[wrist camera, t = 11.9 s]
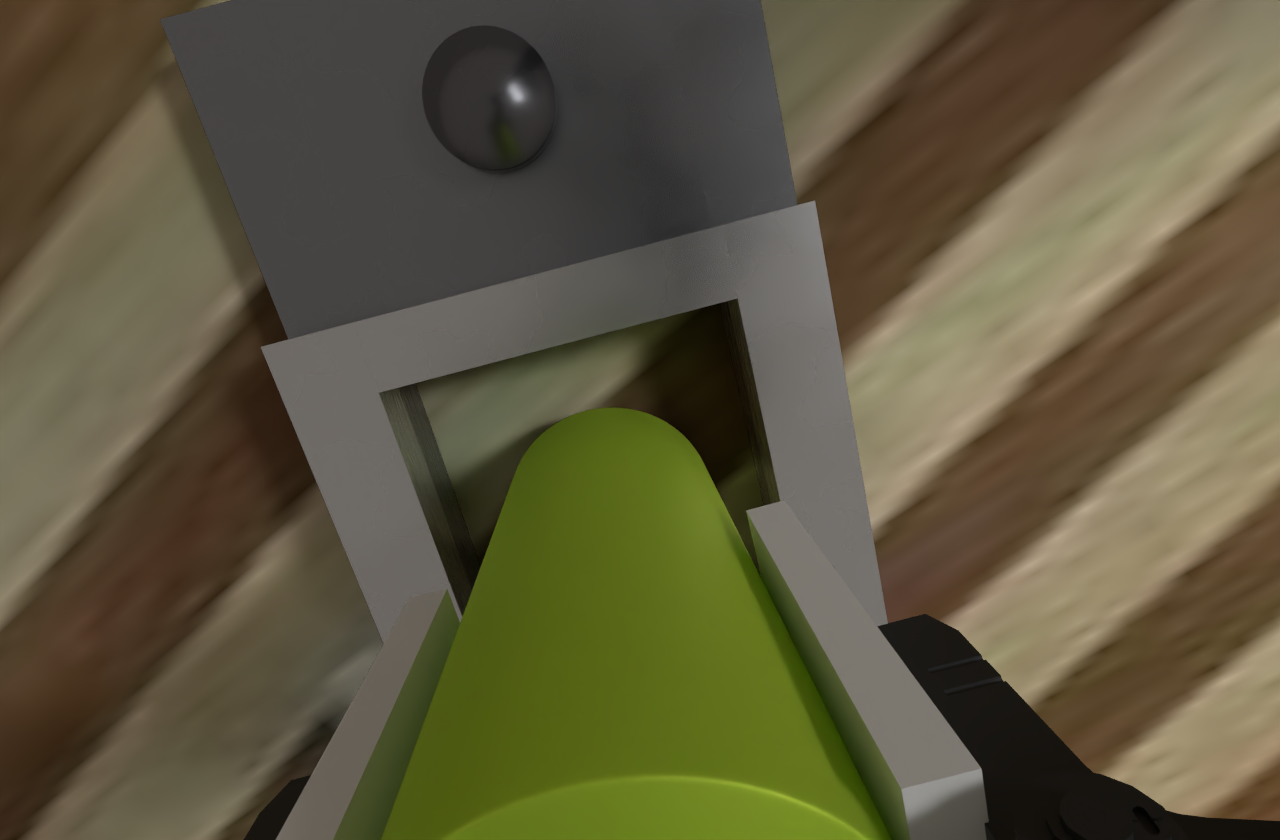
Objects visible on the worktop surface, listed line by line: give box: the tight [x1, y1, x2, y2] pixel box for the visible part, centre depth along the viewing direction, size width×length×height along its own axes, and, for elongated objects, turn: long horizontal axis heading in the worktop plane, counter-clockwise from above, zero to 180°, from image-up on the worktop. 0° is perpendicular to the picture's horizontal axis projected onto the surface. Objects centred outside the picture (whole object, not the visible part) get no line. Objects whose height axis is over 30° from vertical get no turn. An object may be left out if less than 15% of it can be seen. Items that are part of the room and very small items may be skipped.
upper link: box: [261, 201, 888, 643], centre depth 19 cm, size 20×14×4 cm, turn 14°
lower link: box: [160, 0, 797, 589], centre depth 17 cm, size 20×14×2 cm, turn 14°
